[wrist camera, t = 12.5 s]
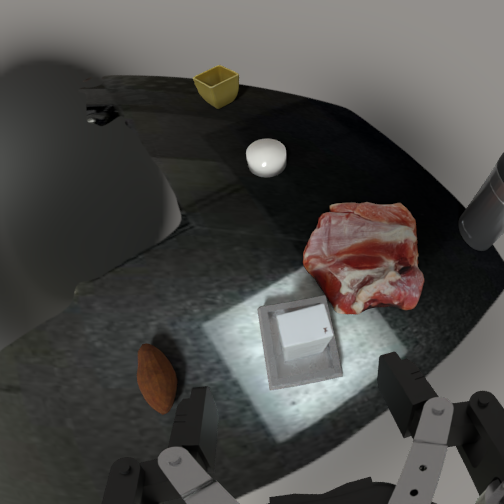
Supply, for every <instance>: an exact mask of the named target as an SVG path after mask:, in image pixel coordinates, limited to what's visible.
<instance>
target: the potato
mask: <svg viewBox="0 0 504 504" xmlns="http://www.w3.org/2000/svg"><path fill="white" fill-rule="evenodd" d="M137 382H138V385H139V388H140V390H141V392H142V394H143V396H144V398H145V400H146V401H147V402H148V404H149V405H150V406H151V407H152V408H153V409H154V410H156V411H157V412H159V413H161V414H162V415H163V414H166V413H168V412H169V411H170V409H171V407H172V406H173V402H174V399H175V395H176V389H177V377H176V373H175V371H174V369H173V367H172V365H171V363H170V361H169V360H168V359H167V357H166V356H165V355H164V354H163V353H162V352H161V351H160V350H159V349H158V348H156V347H155V346H153V345H150V344H142V346H141V348H140V349H139V351H138V371H137Z"/></svg>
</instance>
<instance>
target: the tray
mask: <svg viewBox="0 0 504 504" xmlns="http://www.w3.org/2000/svg"><path fill="white" fill-rule="evenodd" d="M319 304H325V308H326V311H327V314H328V317H329V321H330V324H331V327H332V330H333V326H332V322H331V317H330V313H329V308H328V304H327V300H326V296H325V295H323V296H318V297H313V298H308V299H302V300H297V301H291V302H285V303H280V304H274V305H268V306H262V307H260V308H259V309H258V316H259V323H260V329H261V336H262V342H263V349H264V356H265V362H266V369H267V375H268V382H269V388H270V390H276V389H282V388H288V387H294V386H300V385H305V384H310V383H315V382H320V381H325V380H329V379H334V378H338V377H342V376H343V375H342V370H341V365H340V360H339V355H338V350H337V345H336V340H335V335H334V336H333V337H332V339H331V340H330V342H329V343H328V345H327V346H326V347H325V349H324V350H323V352H320V353H316V354H312V355H308V356H304V357H300V358H296V359H292V360H288V361H285V360H284V356H283V351H282V347H281V342H280V337H279V331H278V324H277V318H276V316H277V315H280V314H284V313H288V312H292V311H296V310H300V309H304V308H307V307H311V306H315V305H319ZM333 333H334V331H333Z"/></svg>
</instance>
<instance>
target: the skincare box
mask: <svg viewBox="0 0 504 504" xmlns="http://www.w3.org/2000/svg"><path fill="white" fill-rule="evenodd" d="M276 318H277V324H278V331H279V337H280V342H281V347H282V351H283V356H284V360H285V361H288V360H292V359H296V358H300V357H304V356H308V355H312V354H316V353H320V352H323V350H324V349H325V347H326V346H327V345H328V343H329V342H330V340H331V339H332V337H333V336H334V333H333V330H332V327H331V324H330V321H329V317H328V314H327V311H326V308H325V304H319V305H315V306H311V307H307V308H304V309H300V310H296V311H292V312H288V313H284V314H280V315H277V316H276Z"/></svg>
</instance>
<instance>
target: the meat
mask: <svg viewBox="0 0 504 504" xmlns="http://www.w3.org/2000/svg"><path fill="white" fill-rule="evenodd" d="M303 258H304V259H303V264H304V267H305V269H306V270H307V272H308V273H310V274H311V275H312V276H313V277H314V278H315V280H316V282H317V283H318V284H319V286H320V287H321V289H322V291H323V292H324V294H325V295H326V297H327V299H328V300H329V302H330V303H331V304H332V306H333V308H334V310H335V311H336V312H337V313H340V314H359V313H361V312H363V311H365V310H367V309H370V308H375V307H388V306H393V307H398V308H400V309H403V310H409V309H413V308H414V307H415V306H416V304H417V302H418V300H419V297H420V295H421V291H422V286H423V283H424V278H423V273H422V272H421V271H420V270H419V268H418V260H417V258H418V250H417V236H416V222H415V219H414V218H413V216H412V215H411V213H410V212H409V211H408V209H407V208H406V207H405V206H403V205H402V204H401V203H396V204H387V205H379V204H374V203H369V202H365V203H360V204H358V203H336V204H332V205H331V206H330V212H326V213H324V214H322V215H321V216H320V217H319V222H318V225H317V228H316V229H315V230H314V231H313V233H312V234H311V236H310V239H309V241H308V243H307V246H306V247H305V250H304V254H303Z"/></svg>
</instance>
